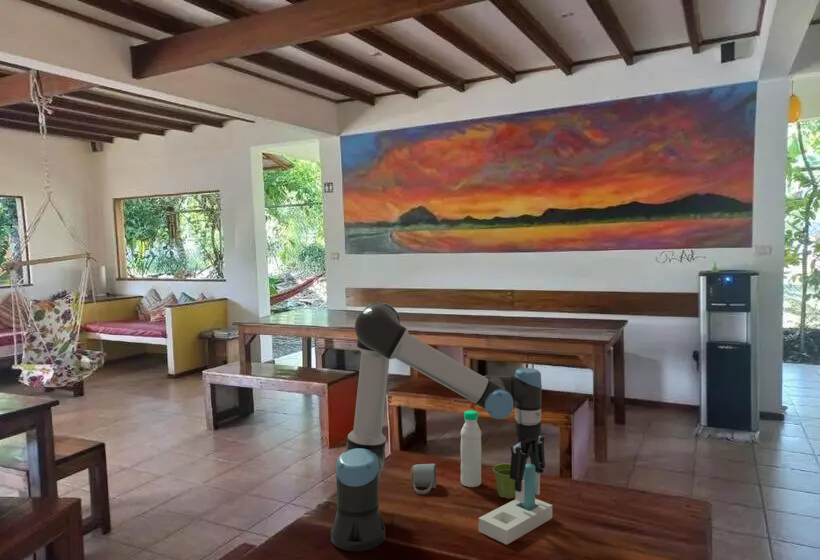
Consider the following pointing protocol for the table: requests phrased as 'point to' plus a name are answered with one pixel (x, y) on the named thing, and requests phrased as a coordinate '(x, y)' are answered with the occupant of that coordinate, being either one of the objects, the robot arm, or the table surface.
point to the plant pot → (504, 481)
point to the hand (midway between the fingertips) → (527, 497)
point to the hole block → (514, 520)
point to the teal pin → (529, 487)
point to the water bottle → (471, 450)
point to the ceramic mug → (423, 477)
